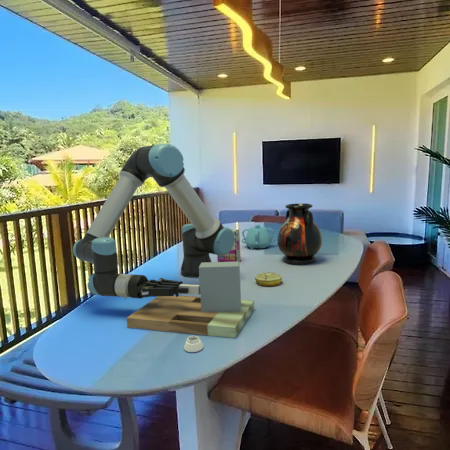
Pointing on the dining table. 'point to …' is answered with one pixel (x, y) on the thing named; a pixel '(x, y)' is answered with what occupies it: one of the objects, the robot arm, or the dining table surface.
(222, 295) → the grey block
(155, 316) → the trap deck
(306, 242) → the amphora vase
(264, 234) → the decorative pot
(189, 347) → the white jar
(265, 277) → the decorated donut
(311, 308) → the dining table surface
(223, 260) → the candy bar box
